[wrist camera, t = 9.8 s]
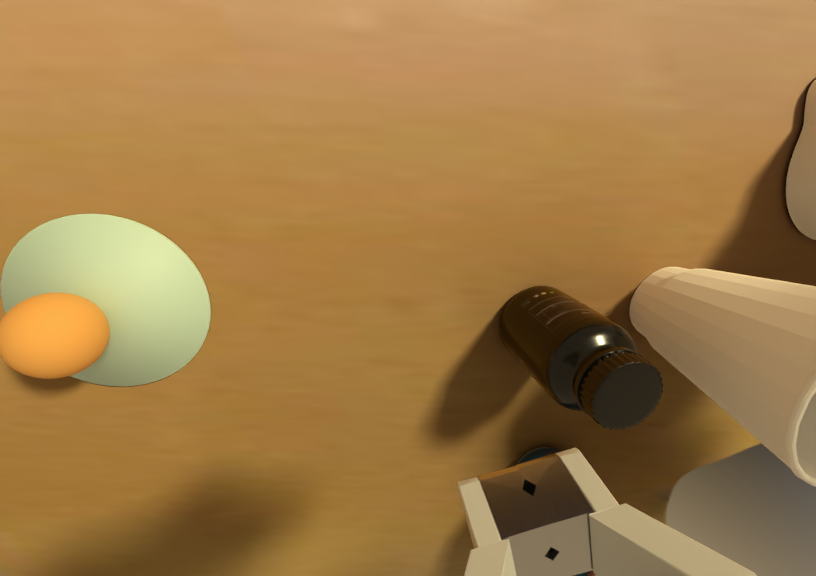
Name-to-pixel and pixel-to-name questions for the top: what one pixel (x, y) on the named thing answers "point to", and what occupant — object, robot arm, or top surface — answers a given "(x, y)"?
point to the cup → (741, 350)
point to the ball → (53, 335)
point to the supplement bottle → (580, 357)
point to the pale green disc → (117, 291)
